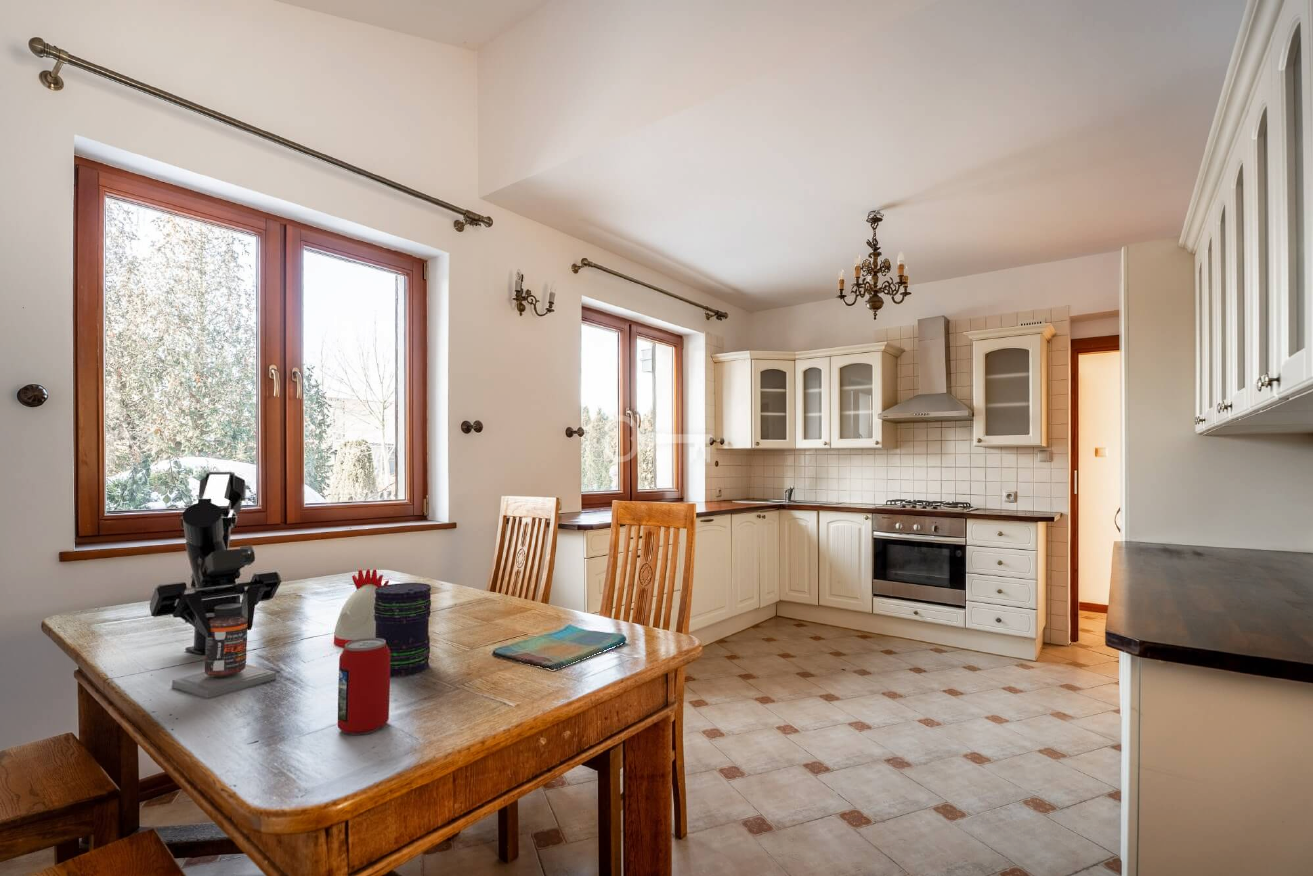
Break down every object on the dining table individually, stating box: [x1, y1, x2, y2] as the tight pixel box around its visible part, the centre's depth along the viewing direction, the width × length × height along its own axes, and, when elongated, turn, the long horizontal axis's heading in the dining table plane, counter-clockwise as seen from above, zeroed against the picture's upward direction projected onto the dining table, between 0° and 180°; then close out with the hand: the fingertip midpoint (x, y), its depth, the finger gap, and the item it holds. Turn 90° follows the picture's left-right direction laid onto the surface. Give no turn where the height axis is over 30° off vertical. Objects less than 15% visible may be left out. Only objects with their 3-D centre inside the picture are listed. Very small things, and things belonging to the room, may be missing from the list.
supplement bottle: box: [204, 604, 248, 676], centre depth 111 cm, size 6×6×11 cm
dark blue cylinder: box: [374, 582, 432, 679], centre depth 119 cm, size 10×10×15 cm
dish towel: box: [491, 623, 627, 670], centre depth 132 cm, size 17×23×2 cm
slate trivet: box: [171, 663, 277, 700], centre depth 110 cm, size 11×11×1 cm
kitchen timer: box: [333, 569, 390, 648], centre depth 139 cm, size 14×14×15 cm
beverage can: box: [337, 638, 391, 735], centre depth 92 cm, size 7×7×12 cm
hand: (230, 632), depth 110 cm, fingers closed on supplement bottle, 6 cm apart
